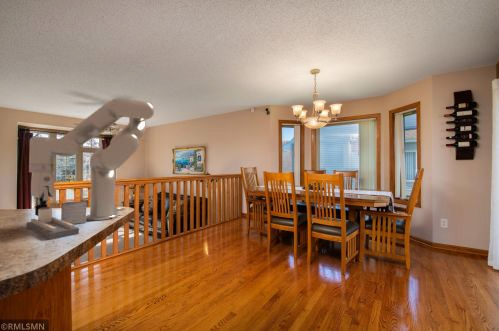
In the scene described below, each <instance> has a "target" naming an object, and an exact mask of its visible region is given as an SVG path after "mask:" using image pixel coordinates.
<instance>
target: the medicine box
mask: <svg viewBox="0 0 499 331" xmlns="http://www.w3.org/2000/svg"><path fill="white" fill-rule="evenodd" d="M60 206H61V207H60V208H61V214H60V215H61V216H60V217H61V219H60V220H62V221H65V222H69V223H71V224H73V225H77V224H78V225H79V224H85V223H87V219H86V216H87V202H86V201H70V202H62V203H61V205H60Z"/></svg>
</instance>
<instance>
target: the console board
mask: <svg viewBox="0 0 499 331" xmlns="http://www.w3.org/2000/svg"><path fill="white" fill-rule="evenodd" d="M25 228H26V229H28V230H30V231H33V233H36V234H38V235H40V236H42V237H44V238H46V239H48V240H54V239H55V240H56V239H60V238H64V237H71V236H74V235H79V234H80V228H79V227H77V226H75V224H71V223H69V222H65V221H62V220H61V219H59V218H56V217H54V216H52V222H48V223H44V222H41V221H39V220H38V219H36V218H31V219H30V221H27V222H26V225H25Z"/></svg>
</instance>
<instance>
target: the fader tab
mask: <svg viewBox="0 0 499 331" xmlns="http://www.w3.org/2000/svg"><path fill="white" fill-rule="evenodd" d="M52 217H53V208H51V206H47V207H44V208H40V209H38V216H37V220H39V221H41V222H44V223H48V222H52Z"/></svg>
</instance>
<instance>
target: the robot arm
mask: <svg viewBox="0 0 499 331" xmlns="http://www.w3.org/2000/svg"><path fill="white" fill-rule="evenodd" d="M154 113H155V109H154V106H153V105H152V104H151V103H150V102H147V101H144V100H137V99H128V98H120V97H119V98H113V99H112V100H109V101H108V102H106V103H104V104H103V105H102V106H101V107H99V108H98V109H97V110H95V111H94V112H92V113H91V114H90V115H89V116H87V117H86V118H84V119H83V120H82V121H81V122H80V123H79V124H77V125H76V126H75V127H73V129H71V130H70V131H68V132H67V133H66V134H64V135H63V136H62V137H60V138H53V137H45V136H33V137H30V139H29V153H28V154H29V155H28V157H29V159H28V162H29V163H28V173H31V181H30V182H31V183H30V184H31V185H30V193H31V196H32V197H34V200H35V201H34V202H35V206H34V208H35V210H34V211H35V212H34V215H35V216H36V217H38V209H40V208H44V207H48V202H49V197H50V198H53V197H55V195H56V194H55V178H54V175H55V174H54V173H55V172H56V171H55V170H56V156H59V157H62V158H64V157H67V158H69V157H74V156H76V155H78V153H80V151H81V147H82V146H83V145H85V144H87V142H88V141H90V140H92V139H94V138H97V137H98V136H100V135H102V134H103V133H104V132H105V131H107V130H108V129H109V128H110V127H111V126H112V125H114V124H115V123H117V122H118V121H119V120H120V119H121V118H129V122H128V123H127V125H125V127H124V128H123V129H122V130H120V131H119V132H118V133H117V134H116V135H114V136H113V137H112V138H111V139H110V142H109V144H108V146H107V147H105V148H103V149H98V150H96V151H94V152H93V153H92V154H91V156H90V158H89V159H90V160H89V166H90V200H89V201H90V205H89V207H90V209H89V211H90V212H89V214H86V221H89V220H90V221H105V220H111V219H110V218H112V219H115V218H118V217H119V212H123V211H126V207H125V206H120V207H119V206H115V204H116V171H115V170H117V169H119V168H120V167H121V166H122V165H124V163H126V161H128V160H129V158H131V156H133V155H134V154H135V153H136V152H137V151H138V149H139V145H140V141H139V140H140V139H141V138H143V136H144V135H145V133H146V130H147V122H146V121H147V120H149V119H151V118H152V117H153V116H154Z"/></svg>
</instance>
